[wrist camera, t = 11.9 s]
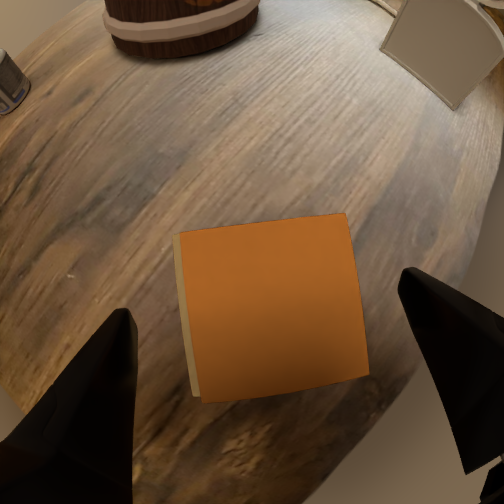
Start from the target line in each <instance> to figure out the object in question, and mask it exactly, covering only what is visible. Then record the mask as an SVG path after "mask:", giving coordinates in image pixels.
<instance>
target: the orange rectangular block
mask: <svg viewBox="0 0 504 504" xmlns="http://www.w3.org/2000/svg"><path fill="white" fill-rule="evenodd" d="M180 246H181V257H182V267H183V277H184V286H185V295H186V303H187V311H188V319H189V327H190V334H191V341H192V348H193V354H194V361H195V367H196V373H197V379H198V385H199V391H200V396H201V402H202V403H203V404H205V403H217V402H228V401H237V400H245V399H253V398H261V397H267V396H274V395H280V394H286V393H292V392H297V391H302V390H308V389H313V388H317V387H322V386H327V385H331V384H335V383H340V382H344V381H348V380H352V379H356V378H359V377H363V376H367V375H369V363H368V352H367V342H366V333H365V324H364V316H363V309H362V302H361V295H360V288H359V282H358V275H357V269H356V264H355V258H354V252H353V247H352V242H351V237H350V232H349V227H348V222H347V217H346V214H345V213H339V214H329V215H320V216H310V217H301V218H292V219H283V220H274V221H266V222H257V223H249V224H241V225H233V226H225V227H217V228H209V229H202V230H194V231H187V232H181V233H180Z"/></svg>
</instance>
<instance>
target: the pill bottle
mask: <svg viewBox="0 0 504 504" xmlns="http://www.w3.org/2000/svg"><path fill="white" fill-rule="evenodd" d="M29 86H30V83H29V80H28V79H27V78H26V77H25V75H24V74H23V73H22V71H21V70H20V69H19V68H18V67H17V65H16V64H15V63H14V62H13V60H12V59H11V58H10V57H9V55H8V54H7V52H6V51H5V50H3V49H0V114H7V113H9V112H10V111H12V110H13V109H14V108H15V107H17V106H18V105H19V104H20V102H21V101H22V100H23V99H24V97H25V96H26V94H27V92H28V90H29Z"/></svg>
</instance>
